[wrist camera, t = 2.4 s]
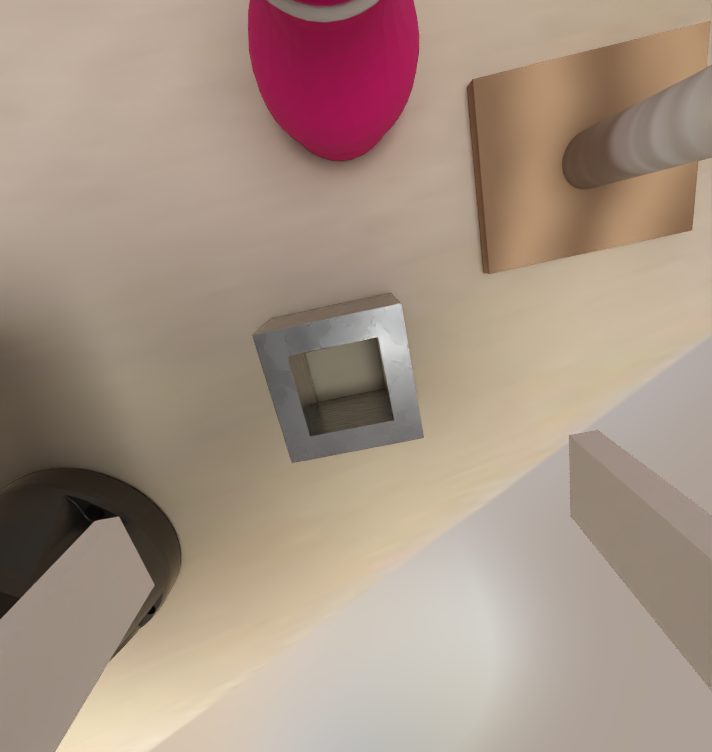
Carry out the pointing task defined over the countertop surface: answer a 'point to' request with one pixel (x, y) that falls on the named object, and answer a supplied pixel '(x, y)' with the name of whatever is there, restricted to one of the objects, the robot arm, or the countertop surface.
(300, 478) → the countertop surface
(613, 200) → the peg on square base
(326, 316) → the grey square ring block
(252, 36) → the pepper mill
